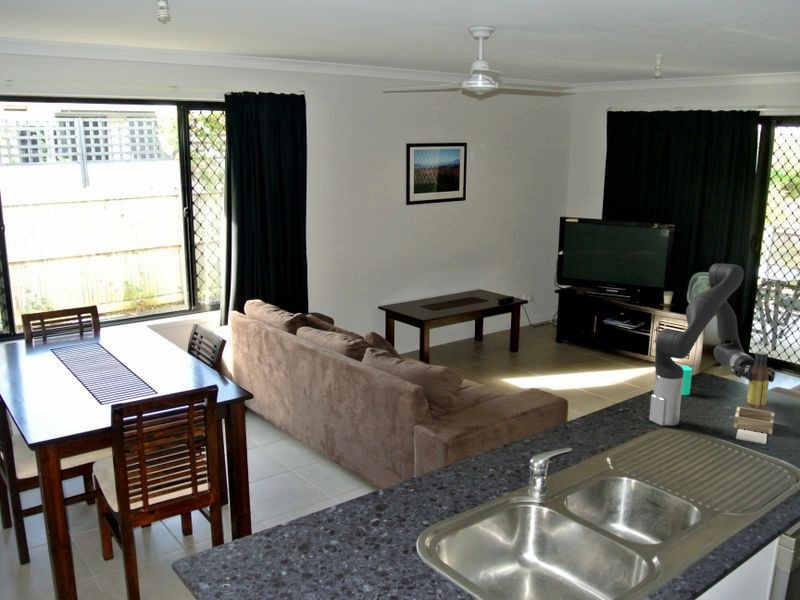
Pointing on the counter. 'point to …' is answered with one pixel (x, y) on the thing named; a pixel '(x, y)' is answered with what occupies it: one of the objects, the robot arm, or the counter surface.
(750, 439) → the coaster mat
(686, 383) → the turquoise rectangular block
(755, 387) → the sauce bottle
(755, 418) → the wooden tray
